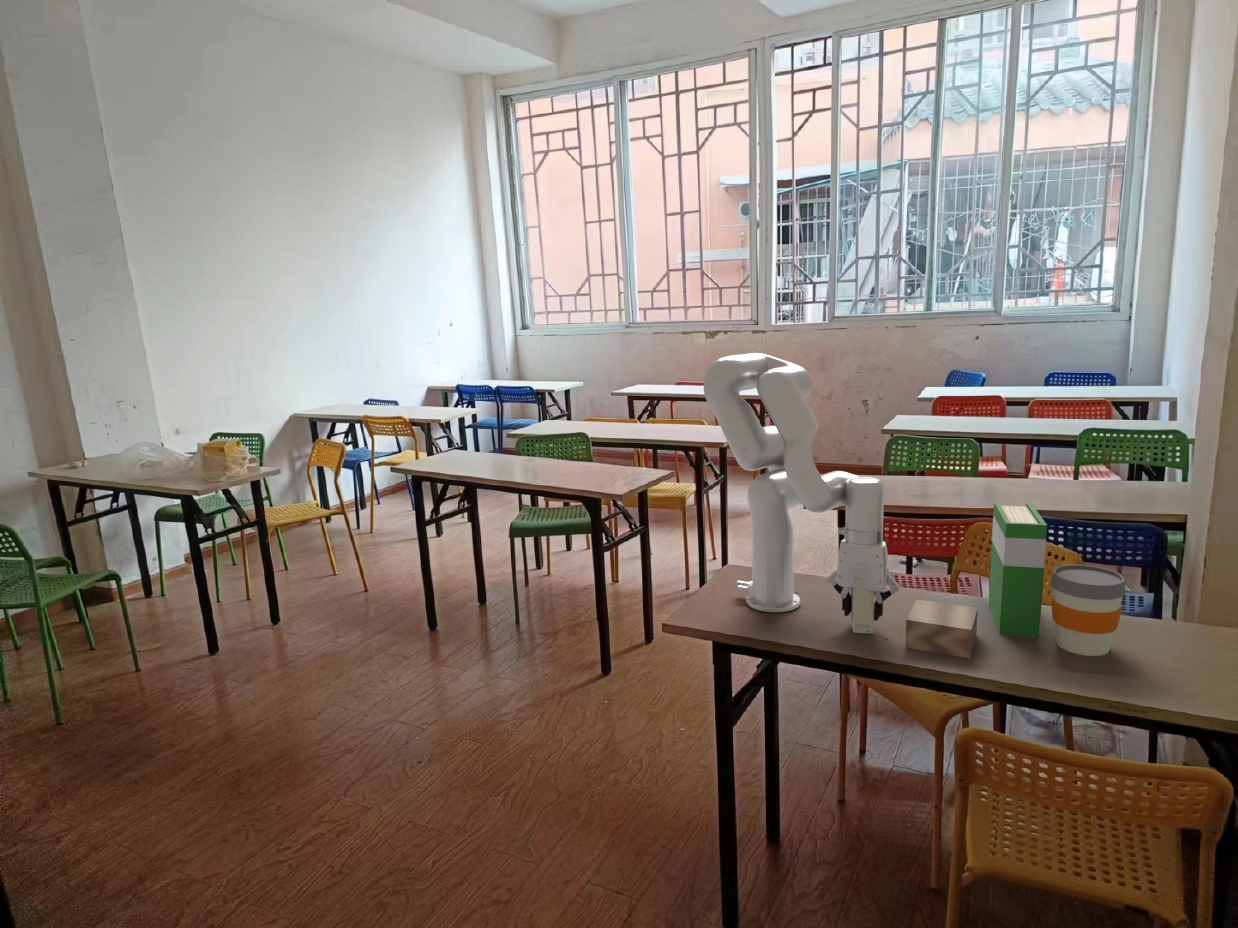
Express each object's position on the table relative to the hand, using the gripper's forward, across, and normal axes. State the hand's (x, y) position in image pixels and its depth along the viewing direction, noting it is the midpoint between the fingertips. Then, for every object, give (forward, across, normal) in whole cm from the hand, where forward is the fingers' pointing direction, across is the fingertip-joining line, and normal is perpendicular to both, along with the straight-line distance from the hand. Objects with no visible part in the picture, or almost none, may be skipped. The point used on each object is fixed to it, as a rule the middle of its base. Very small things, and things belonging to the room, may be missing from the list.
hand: (862, 615), depth 165 cm
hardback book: (+3, +28, +18) cm, 33 cm away
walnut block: (+3, +16, 0) cm, 16 cm away
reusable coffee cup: (+3, +41, +9) cm, 42 cm away
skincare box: (+3, 0, 0) cm, 3 cm away
